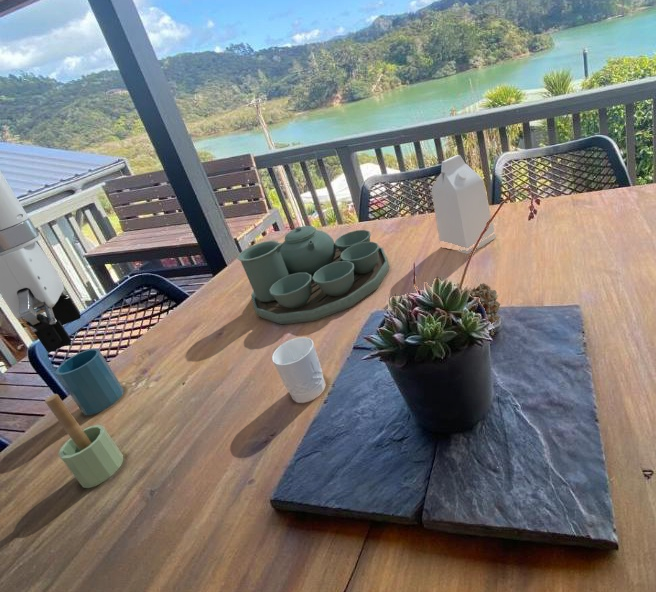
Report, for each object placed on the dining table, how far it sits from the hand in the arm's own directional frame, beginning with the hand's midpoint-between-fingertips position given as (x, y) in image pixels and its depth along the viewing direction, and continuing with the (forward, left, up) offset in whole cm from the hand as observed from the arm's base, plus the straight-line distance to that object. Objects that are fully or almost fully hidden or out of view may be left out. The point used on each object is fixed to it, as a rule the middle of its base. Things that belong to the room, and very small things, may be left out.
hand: (66, 333), depth 71 cm
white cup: (+27, +18, -27) cm, 42 cm away
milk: (+45, +79, -27) cm, 95 cm away
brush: (-3, -5, -26) cm, 27 cm away
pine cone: (+57, +33, -27) cm, 71 cm away
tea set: (+7, +58, -27) cm, 64 cm away
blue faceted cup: (-23, +9, -27) cm, 37 cm away
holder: (-3, -5, -27) cm, 28 cm away
